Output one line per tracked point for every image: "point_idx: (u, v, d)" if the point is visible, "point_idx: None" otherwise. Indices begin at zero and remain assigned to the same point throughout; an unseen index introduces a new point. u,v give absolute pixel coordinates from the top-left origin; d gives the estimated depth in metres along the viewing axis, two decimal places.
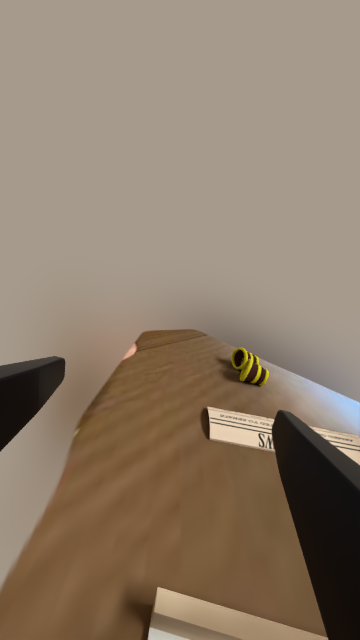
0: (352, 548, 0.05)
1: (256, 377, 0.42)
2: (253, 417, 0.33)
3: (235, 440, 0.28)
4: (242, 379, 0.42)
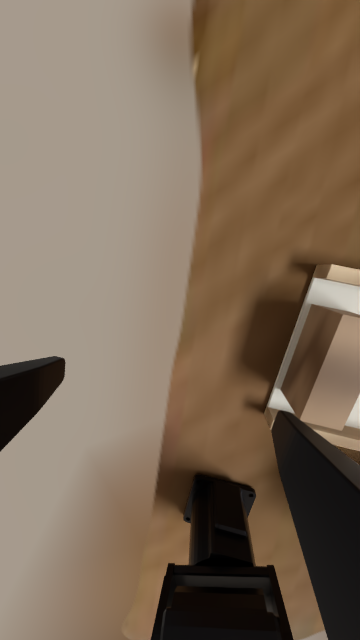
0: (353, 548, 0.05)
1: None
2: None
3: None
4: None
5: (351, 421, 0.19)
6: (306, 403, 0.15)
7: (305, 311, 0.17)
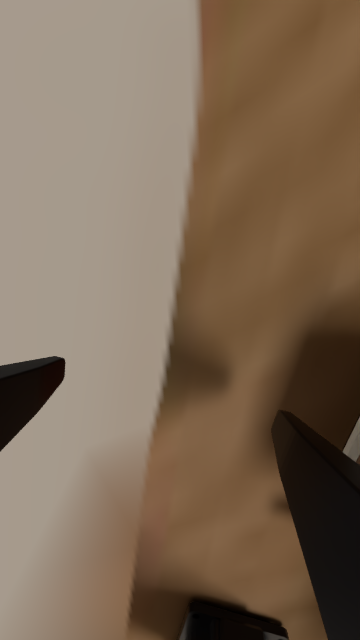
0: (352, 547, 0.05)
1: None
2: None
3: None
4: None
5: None
6: None
7: None
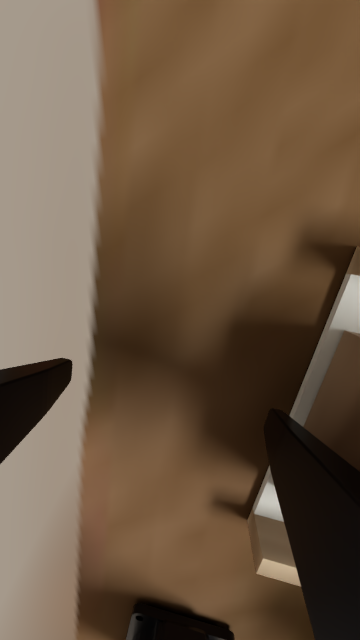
0: (337, 544, 0.05)
1: None
2: None
3: None
4: None
5: None
6: None
7: (329, 345, 0.08)
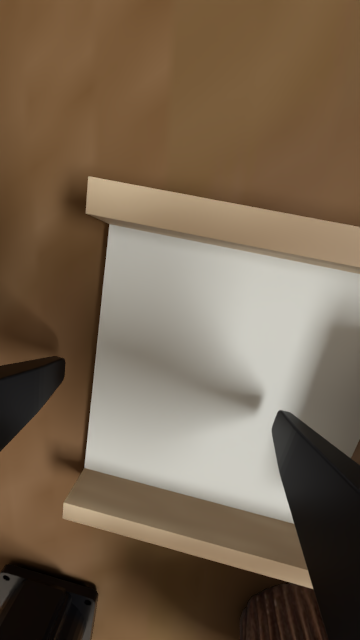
0: (352, 548, 0.05)
1: None
2: None
3: None
4: None
5: (226, 496, 0.11)
6: None
7: (107, 295, 0.09)
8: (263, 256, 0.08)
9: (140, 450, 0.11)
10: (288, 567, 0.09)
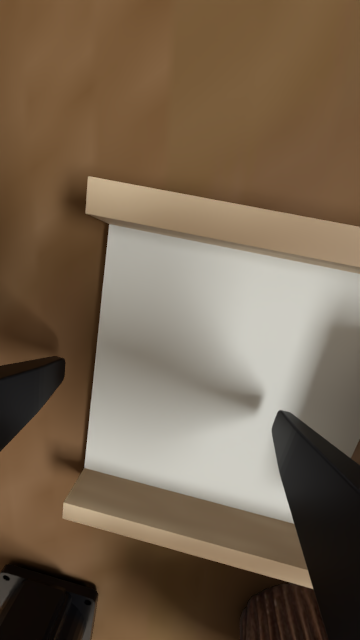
0: (352, 548, 0.05)
1: None
2: None
3: None
4: None
5: (226, 496, 0.11)
6: None
7: (107, 295, 0.09)
8: (263, 256, 0.08)
9: (140, 450, 0.11)
10: (288, 567, 0.09)
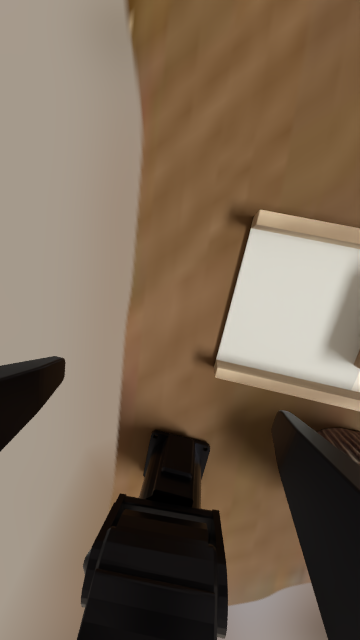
0: (352, 547, 0.05)
1: None
2: None
3: None
4: None
5: (295, 371, 0.20)
6: (359, 350, 0.19)
7: (245, 262, 0.18)
8: (323, 242, 0.17)
9: (250, 346, 0.20)
10: (331, 395, 0.19)
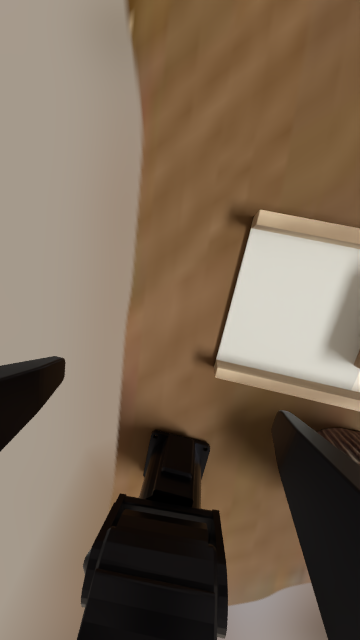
0: (352, 548, 0.05)
1: None
2: None
3: None
4: None
5: (295, 371, 0.20)
6: (359, 350, 0.19)
7: (245, 262, 0.18)
8: (323, 242, 0.17)
9: (250, 346, 0.20)
10: (331, 395, 0.19)
